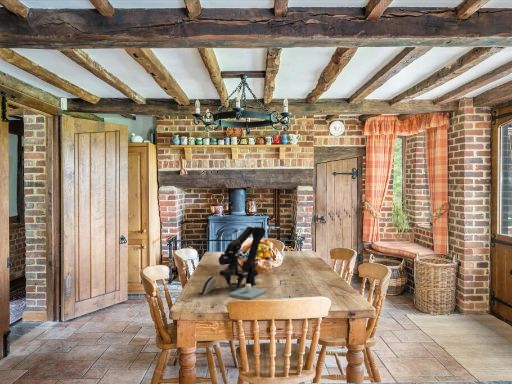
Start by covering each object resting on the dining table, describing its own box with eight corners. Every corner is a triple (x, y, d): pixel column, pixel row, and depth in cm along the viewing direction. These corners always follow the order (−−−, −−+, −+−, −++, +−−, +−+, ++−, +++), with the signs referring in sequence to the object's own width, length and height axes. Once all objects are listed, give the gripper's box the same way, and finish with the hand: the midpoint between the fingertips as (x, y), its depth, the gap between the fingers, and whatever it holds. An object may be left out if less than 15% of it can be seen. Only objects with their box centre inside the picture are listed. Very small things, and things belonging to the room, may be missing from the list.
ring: (232, 286, 266) (232, 282, 266) (241, 288, 262) (241, 283, 262) (225, 289, 260) (225, 284, 260) (235, 290, 256) (234, 286, 256)
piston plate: (245, 289, 260) (245, 279, 259) (266, 292, 251) (266, 283, 251) (228, 295, 244) (228, 286, 244) (250, 300, 236) (250, 289, 236)
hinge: (206, 287, 265) (211, 273, 264) (213, 290, 264) (218, 275, 263) (197, 294, 249) (202, 279, 248) (204, 297, 248) (209, 282, 247)
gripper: (214, 263, 259) (214, 288, 259) (238, 266, 249) (238, 292, 249) (224, 260, 268) (224, 284, 268) (248, 263, 258) (248, 288, 258)
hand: (233, 287), depth 261 cm, fingers closed on ring, 7 cm apart
